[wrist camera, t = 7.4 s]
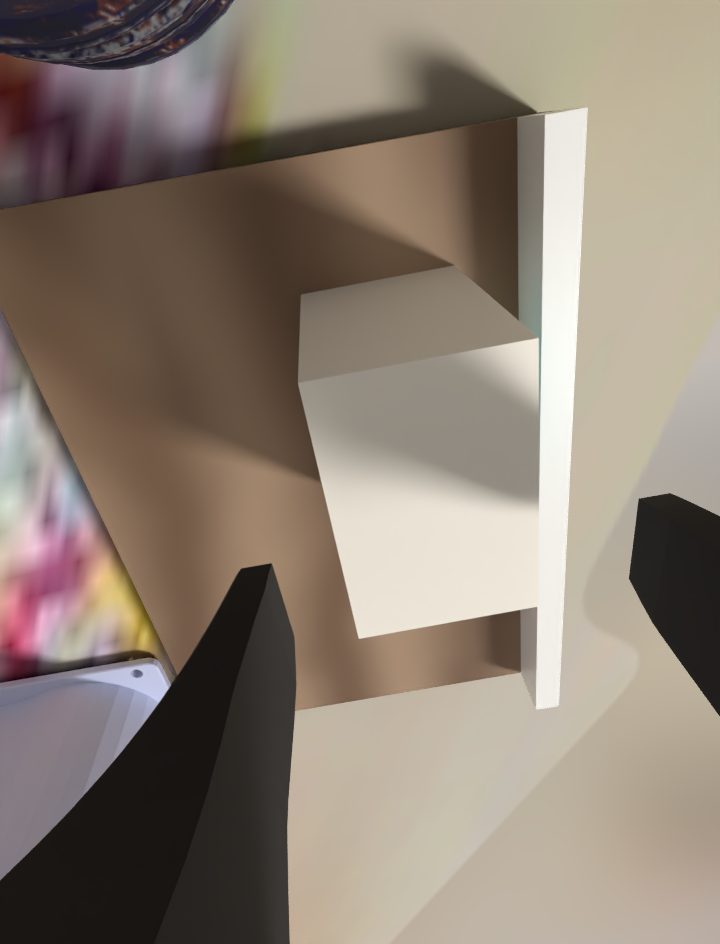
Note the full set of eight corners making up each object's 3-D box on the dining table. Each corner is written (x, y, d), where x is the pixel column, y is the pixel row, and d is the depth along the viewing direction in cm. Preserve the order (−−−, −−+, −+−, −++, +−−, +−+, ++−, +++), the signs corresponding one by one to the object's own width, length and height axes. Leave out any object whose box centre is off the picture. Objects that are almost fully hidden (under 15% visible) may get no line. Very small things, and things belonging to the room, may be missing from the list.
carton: (343, 490, 20) (358, 638, 14) (301, 294, 17) (297, 383, 11) (472, 466, 20) (542, 605, 14) (458, 264, 17) (544, 337, 11)
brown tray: (206, 704, 27) (194, 767, 25) (-21, 212, 16) (-89, 227, 13) (533, 648, 27) (558, 706, 24) (538, 112, 16) (587, 107, 13)
